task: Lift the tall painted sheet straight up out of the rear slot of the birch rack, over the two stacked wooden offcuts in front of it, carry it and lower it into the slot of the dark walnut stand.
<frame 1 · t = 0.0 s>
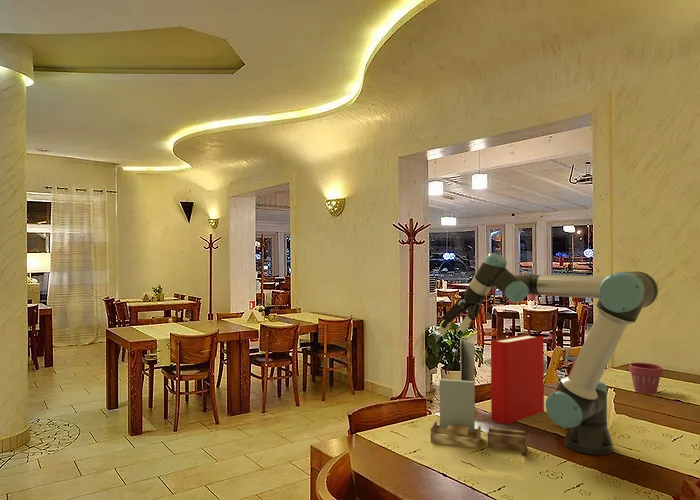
hand: (451, 331, 206), 36 cm above the table, tool tilted 35°, fingers open, 13 cm apart
plant pot: (645, 392, 252), on the table
brochure: (467, 412, 220), on the table
rack: (456, 444, 182), on the table
book: (517, 415, 215), on the table
offcut a: (461, 442, 179), point 1 cm above the table, touching offcut b, rack
stand: (506, 450, 176), on the table
sheet: (457, 437, 185), point 1 cm above the table, touching rack
offcut b: (458, 434, 180), point 4 cm above the table, touching offcut a
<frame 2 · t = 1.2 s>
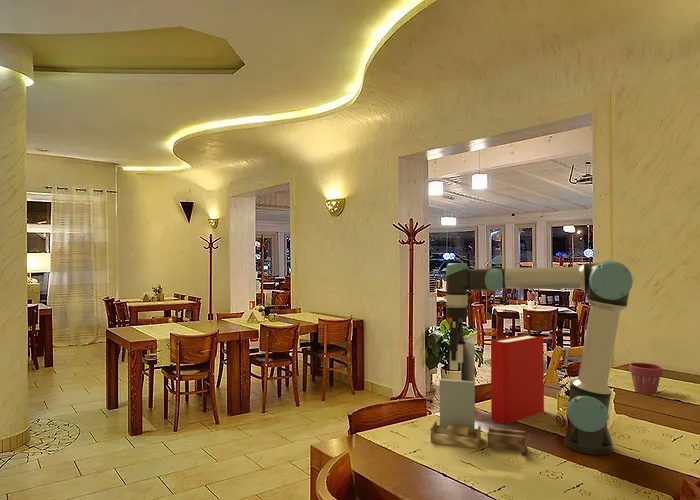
hand: (456, 366, 185), 27 cm above the table, tool pointing down, fingers open, 13 cm apart
nothing on the table moved.
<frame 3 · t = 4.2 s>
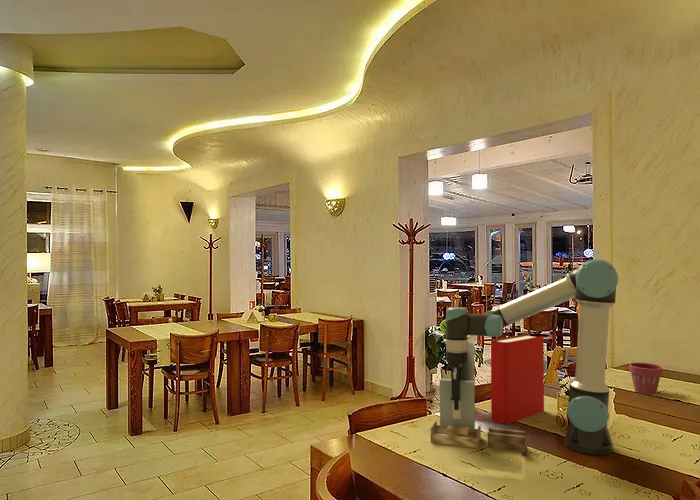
hand: (457, 417, 185), 9 cm above the table, tool pointing down, fingers closed on sheet, 2 cm apart
sheet: (457, 436, 185), point 2 cm above the table, touching gripper
everything else where it was.
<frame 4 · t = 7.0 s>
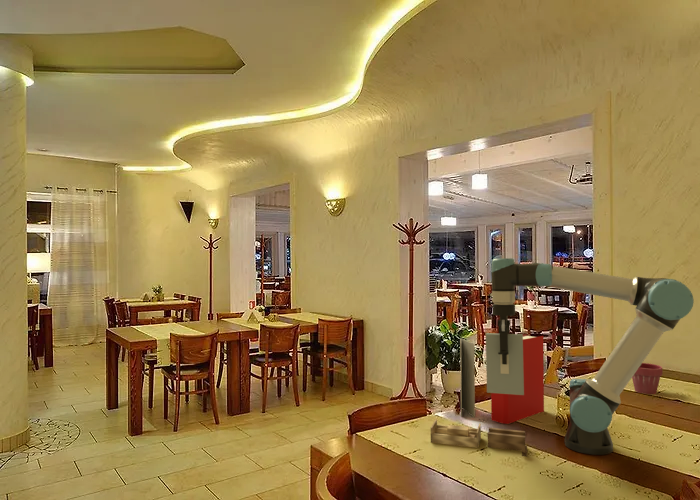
hand: (505, 372, 177), 26 cm above the table, tool pointing down, fingers closed on sheet, 2 cm apart
sheet: (505, 393, 177), point 19 cm above the table, touching gripper
everything else where it was.
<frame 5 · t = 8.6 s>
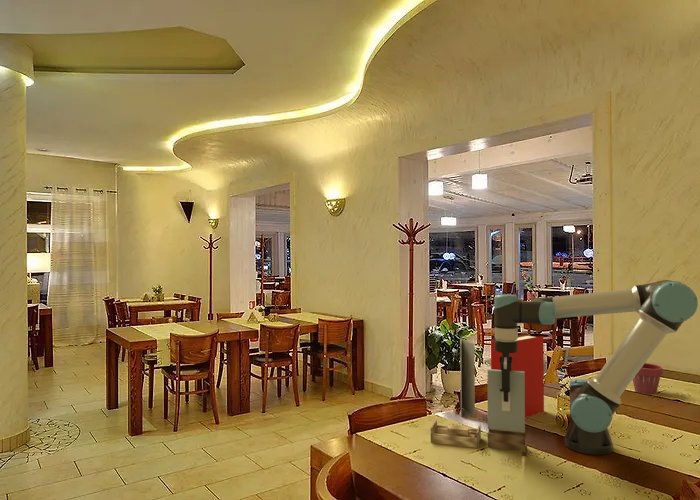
hand: (506, 409, 176), 14 cm above the table, tool pointing down, fingers closed on sheet, 2 cm apart
sheet: (506, 429, 176), point 7 cm above the table, touching gripper
everything else where it was.
when the fingers open (9 cm above the table, at t = 10.1 s): sheet stays where it is, resting on stand.
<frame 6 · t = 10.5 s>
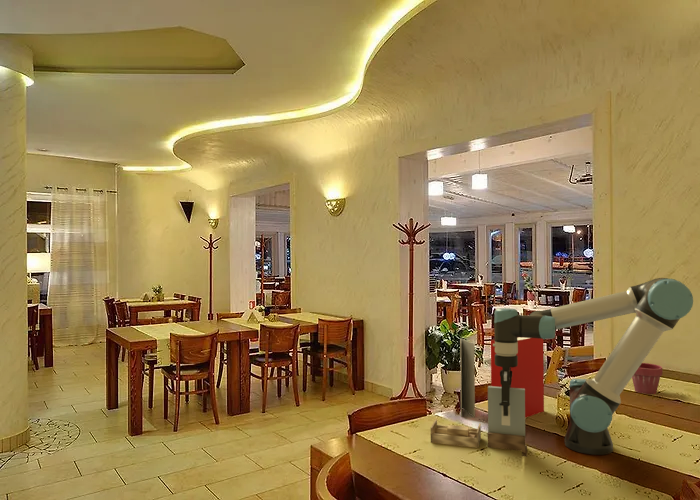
hand: (506, 420, 176), 10 cm above the table, tool pointing down, fingers open, 9 cm apart
sheet: (506, 447, 176), point 1 cm above the table, touching stand
everything else where it was.
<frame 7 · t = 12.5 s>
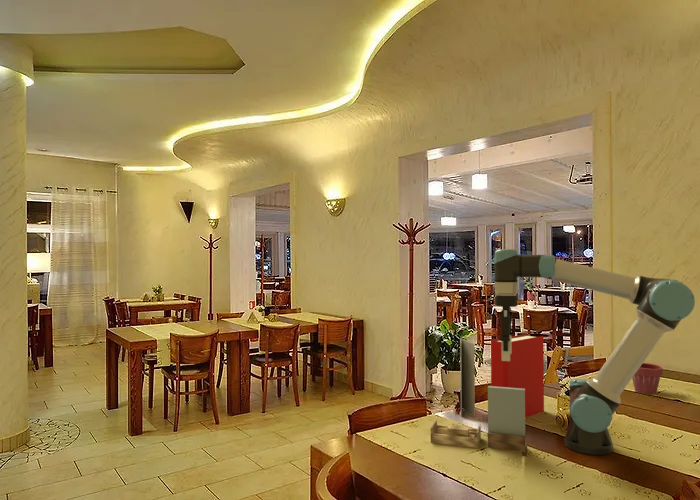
hand: (506, 357, 177), 31 cm above the table, tool pointing down, fingers open, 13 cm apart
nothing on the table moved.
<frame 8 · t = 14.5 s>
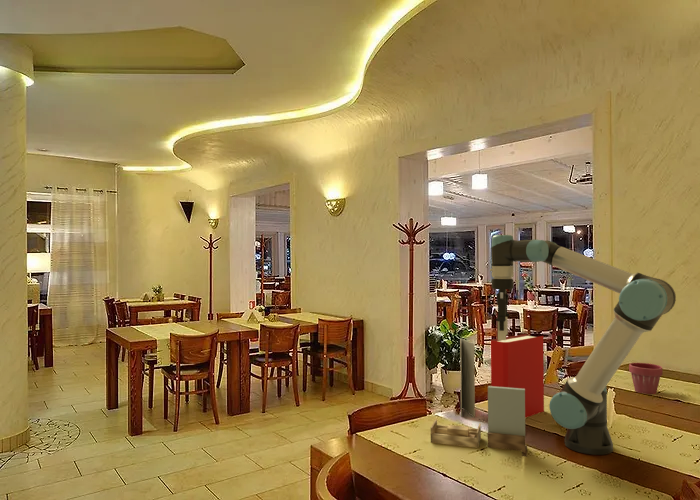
hand: (502, 337, 187), 37 cm above the table, tool pointing down, fingers open, 13 cm apart
nothing on the table moved.
at the end: sheet 0.0 cm off-centre on the stand, point 1.0 cm above the stand's base; sheet tilted 0°; the gripper is holding nothing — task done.
